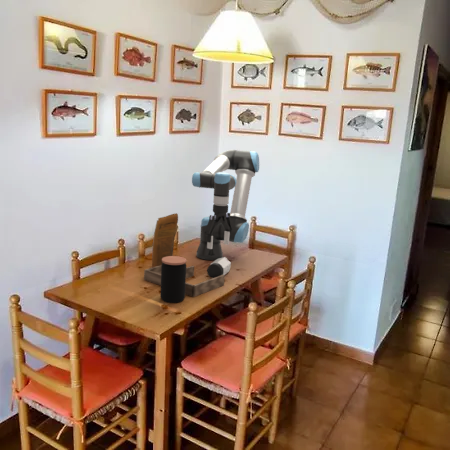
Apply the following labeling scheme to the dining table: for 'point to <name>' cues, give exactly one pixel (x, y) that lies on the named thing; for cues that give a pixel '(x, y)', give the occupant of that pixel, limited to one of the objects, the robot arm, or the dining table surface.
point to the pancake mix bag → (164, 238)
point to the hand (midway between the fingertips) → (218, 246)
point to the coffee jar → (173, 279)
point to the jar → (219, 267)
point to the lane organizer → (191, 290)
